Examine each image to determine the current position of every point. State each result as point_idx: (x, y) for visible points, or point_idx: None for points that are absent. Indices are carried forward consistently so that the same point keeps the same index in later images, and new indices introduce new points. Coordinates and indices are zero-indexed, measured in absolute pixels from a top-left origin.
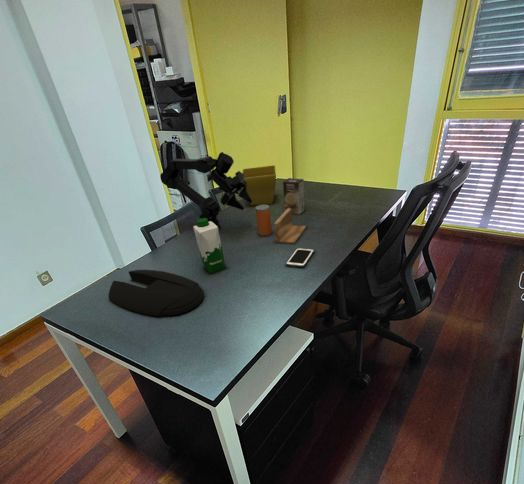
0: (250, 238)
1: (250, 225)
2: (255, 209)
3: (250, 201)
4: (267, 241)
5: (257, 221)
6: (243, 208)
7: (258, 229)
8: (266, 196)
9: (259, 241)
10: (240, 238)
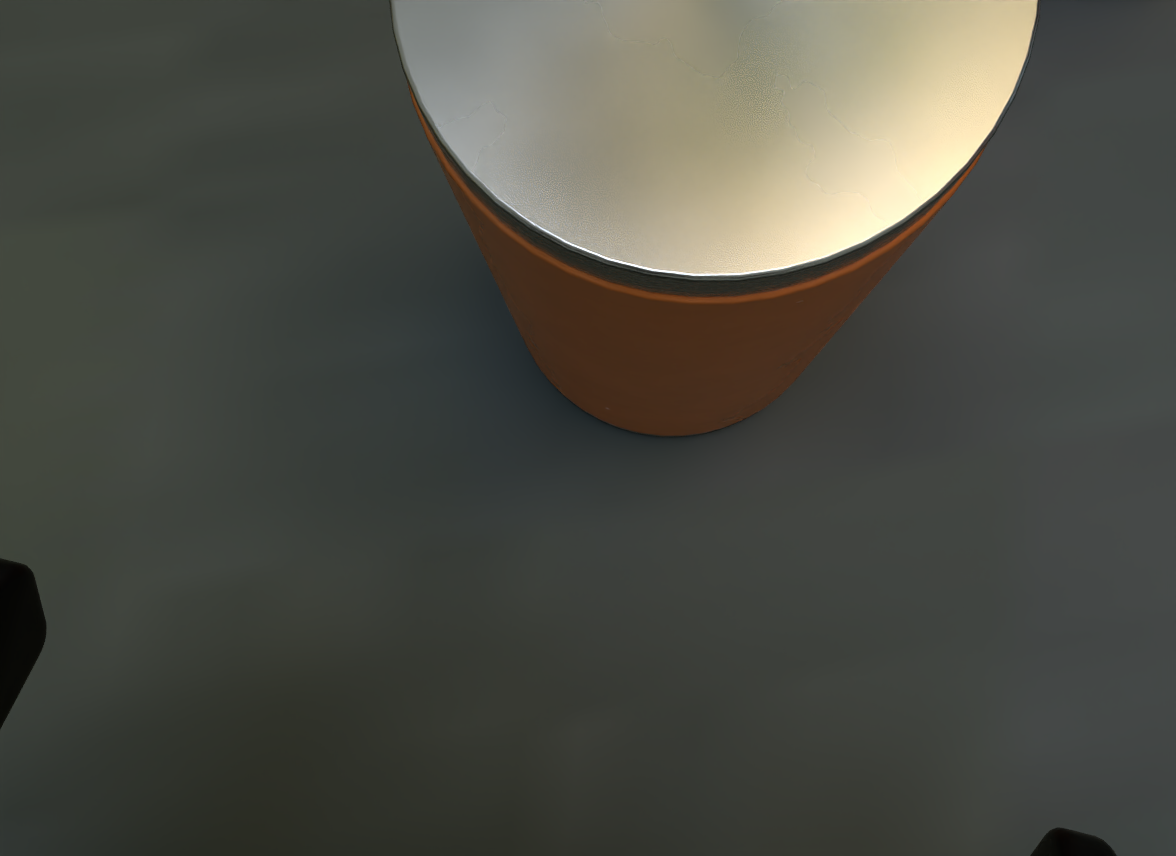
0: (924, 591)
1: (151, 732)
2: (782, 287)
3: (10, 639)
4: (1104, 170)
5: (819, 343)
6: (1099, 848)
7: (782, 387)
8: None
9: (1097, 349)
10: (908, 849)
